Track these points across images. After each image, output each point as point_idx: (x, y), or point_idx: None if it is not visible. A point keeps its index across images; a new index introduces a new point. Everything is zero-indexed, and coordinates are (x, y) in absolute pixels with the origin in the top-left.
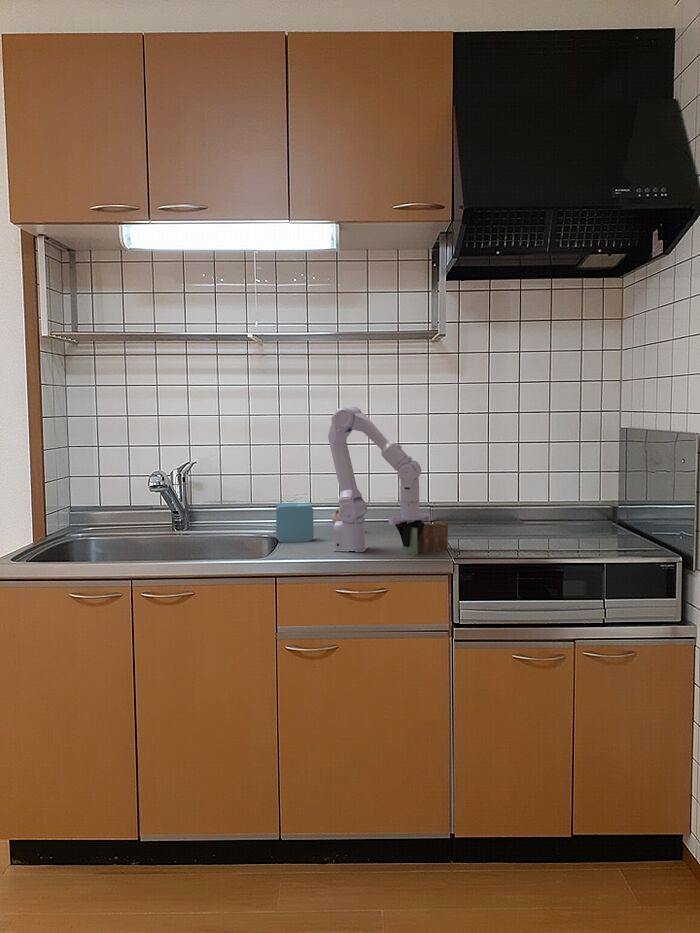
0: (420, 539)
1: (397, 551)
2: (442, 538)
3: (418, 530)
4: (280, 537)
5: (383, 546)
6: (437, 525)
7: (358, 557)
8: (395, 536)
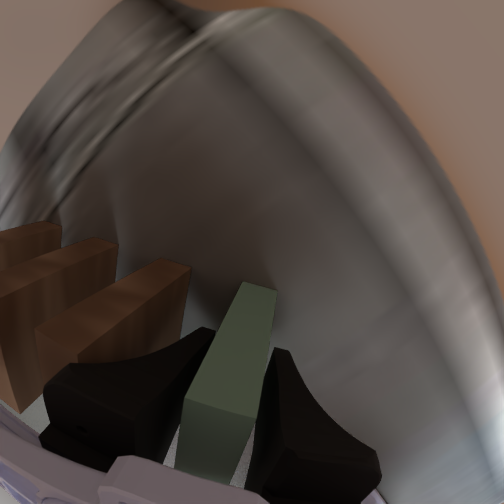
0: (148, 336)
1: None
2: (16, 251)
3: (159, 378)
4: None
5: None
6: None
7: (456, 431)
8: None
